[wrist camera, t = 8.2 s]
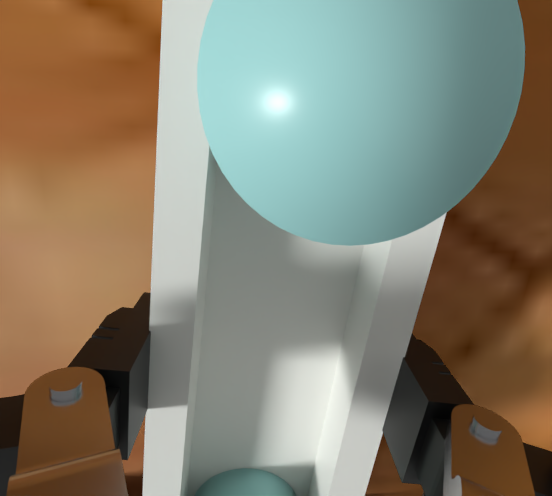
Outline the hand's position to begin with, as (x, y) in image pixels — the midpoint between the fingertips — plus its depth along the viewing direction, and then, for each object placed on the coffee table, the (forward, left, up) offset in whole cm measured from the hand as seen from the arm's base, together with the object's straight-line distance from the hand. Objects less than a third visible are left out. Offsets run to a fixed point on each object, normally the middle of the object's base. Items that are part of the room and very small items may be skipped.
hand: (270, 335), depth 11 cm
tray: (0, 0, -1) cm, 1 cm away
